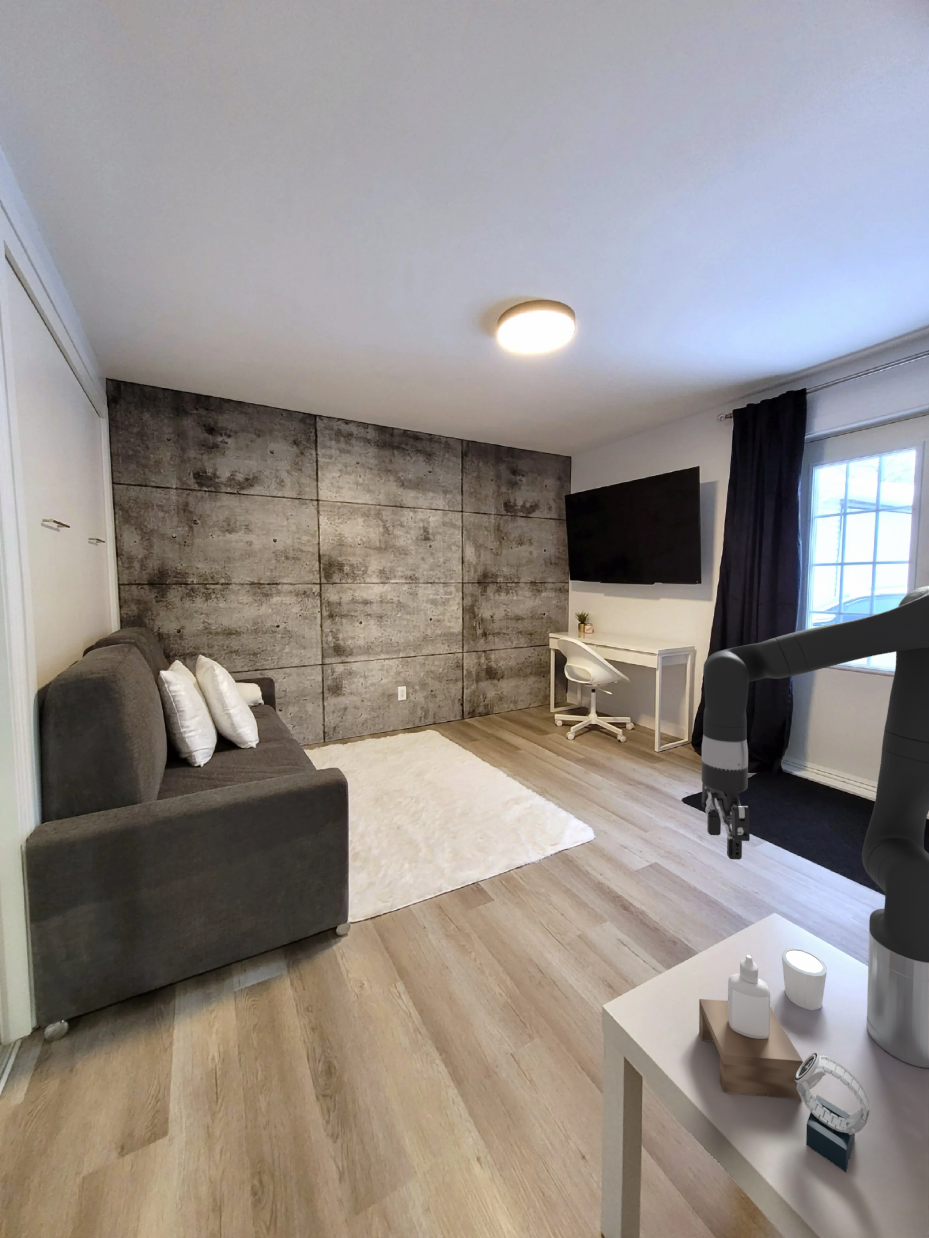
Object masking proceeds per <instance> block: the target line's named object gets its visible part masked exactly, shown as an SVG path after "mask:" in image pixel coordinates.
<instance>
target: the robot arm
mask: <svg viewBox="0 0 929 1238" xmlns="http://www.w3.org/2000/svg"><path fill="white" fill-rule="evenodd" d="M891 653H895V668H894V675H893V679H892V685H891V690H890V694H889V700H888V706H887V714H886V719H885V725H884V728H883V729H884V730H883V736H882V745H881V754H880V755H881V758H880V765H879V772H878V778H877V784H876V793H875V800H874V805H873V806H874V807H873V809H872V814H871V818H870V819H869V823H868V827H867V831H866V834H865V837H864V842H863V846H862V849H861V850H862V851H861V860H862V864H863V868H864V870H865V872H866V873H867V874H868V876H869V877H870V879H871V880H872V881H873V882H874V883H875V884H876V885H877V886H878V887H879V888H880V889H881V890H882V891H883V892H884V908H878V909H875V910H874V911H872V912H871V913H870V916H869V922H868V923H869V924H868V925H869V927H868V930H869V931H868V961H867V963H868V966H867V967H868V968H867V995H866V996H867V1003H866V1004H867V1005H866V1030H867V1031H868V1034H869V1036H870V1037H871V1038H872V1039H873V1041H874V1042H875V1043H876V1045H878V1046H879V1047H880V1048H882V1049H883V1050H884V1051H886V1052H887V1053H888V1054H890V1055H891V1056H893V1057H895V1058H896V1059H898V1060H900V1061H902V1062H904V1063H907V1064H909V1065H911V1066H915V1067H920V1068H926V1069H927V1068H929V852H928V851H926V850H925V847H924V846H925V845H924V842H925V841H924V840H925V831H926V830H925V829H926V822H927V818H928V814H929V585H927V586H922V587H919V588H915V589H913V590H912V591H911V592H909V593H907V594H906V595H905V596H904V597H903V598H902V599H901V601H900V602H899V604H898V606H897V607H894V608H892V609H889V610H886V611H883V612H880V613H877V614H873V615H870V616H869V615H868V616H865V617H861V618H857V619H854V620H853V619H852V620H848V621H844V622H838V623H837V622H836V623H831V624H827V625H821V626H816V627H811V628H806V629H802V630H798V631H794V632H791V633H786V634H783V635H780V636H776V637H773V638H770V639H767V640H763V641H761V642H758V643H751V644H746V645H745V644H744V645H740V646H736V647H730V648H726V649H723V650H722V649H721V650H719V651H716V652H713V653H712V654H710V655H709V656H708V657H707V658H706V659H705V661H704V664H703V680H704V681H703V683H704V701H705V704H704V705H705V707H704V710H703V722H702V723H703V727H702V728H703V730H702V731H703V732H702V733H703V735H702V742H701V783H702V791H701V806H702V807H703V808H705V809H704V810H705V813H706V815H707V822H706V823H707V824H706V825H707V829H706V831H707V833H708V834H709V835H710V836H720V835H721V834H722V833H721V828H722V826H724V827H725V831H726V832H725V833H726V835H727V837H726V856H727V857H728V858H729V859H730V860H738V861H739V860H741V859H742V857H743V856H742V855H743V842H750V841H751V840H750V838H751V837H750V834H751V833H750V832H751V831H750V829H751V828H750V808H749V806H748V805H742V804H741V802H740V796H739V795H740V794H741V793H742V792H745V791H747V789H748V788H749V787H748V785H749V784H748V783H749V781H748V780H749V779H748V778H749V748H748V742H747V741H748V740H747V737H748V736H747V733H748V732H747V729H748V728H747V721H748V720H747V711H746V710H747V705H748V698H749V697H748V695H749V683H750V682H754V681H759V680H764V679H772V680H773V679H775V680H776V679H777V680H779V679H785V678H789V677H794V676H799V675H801V674H802V675H803V674H805V673H810V672H815V671H818V670H822V669H825V668H829V667H834V666H837V665H841V664H845V663H848V662H853V661H857V660H861V659H866V658H869V657H870V658H871V657H875V656H880V655H884V654H891Z"/></svg>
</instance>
